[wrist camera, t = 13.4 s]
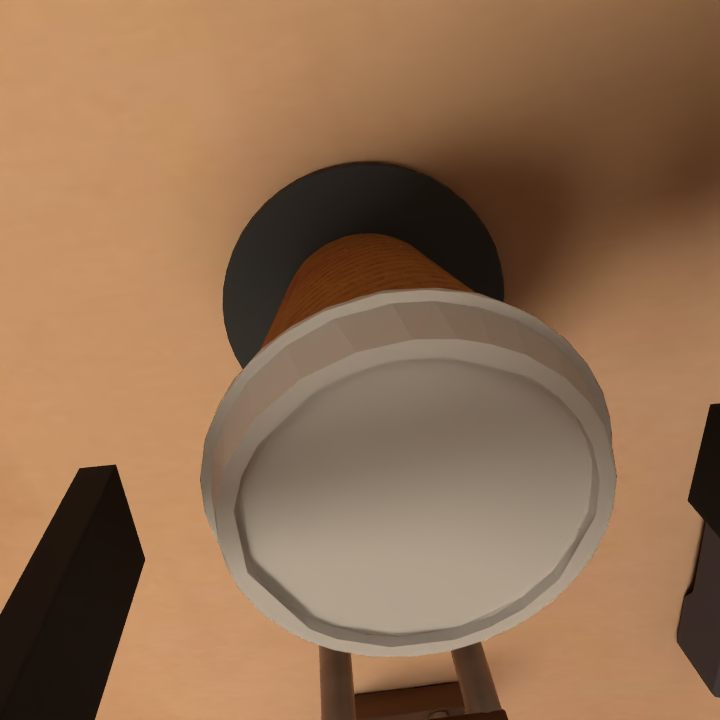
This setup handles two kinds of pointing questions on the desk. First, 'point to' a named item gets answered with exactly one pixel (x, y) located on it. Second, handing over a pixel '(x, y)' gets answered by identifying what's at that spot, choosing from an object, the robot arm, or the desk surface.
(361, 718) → the bookends
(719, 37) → the desk surface
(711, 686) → the calculator
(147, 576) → the desk surface
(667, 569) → the desk surface
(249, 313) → the coaster
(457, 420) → the disposable coffee cup
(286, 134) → the desk surface
